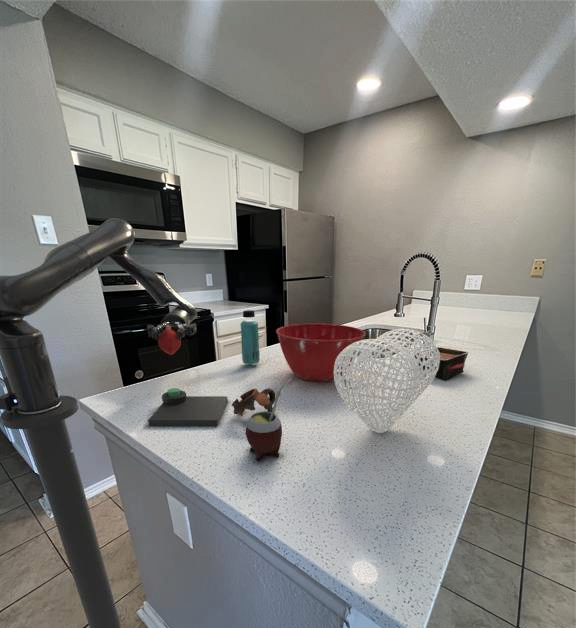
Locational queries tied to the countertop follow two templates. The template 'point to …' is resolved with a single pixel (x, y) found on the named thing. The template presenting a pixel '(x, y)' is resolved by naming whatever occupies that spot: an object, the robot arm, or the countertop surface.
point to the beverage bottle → (249, 339)
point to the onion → (169, 341)
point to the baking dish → (448, 363)
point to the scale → (189, 410)
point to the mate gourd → (265, 431)
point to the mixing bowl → (316, 348)
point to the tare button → (173, 392)
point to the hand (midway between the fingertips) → (167, 335)
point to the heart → (414, 387)
